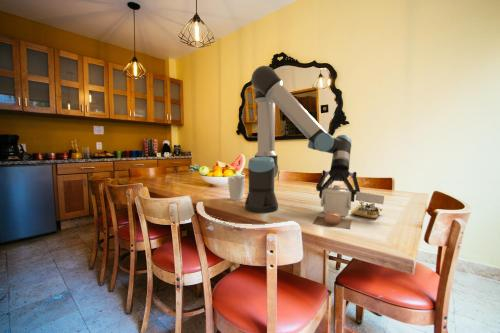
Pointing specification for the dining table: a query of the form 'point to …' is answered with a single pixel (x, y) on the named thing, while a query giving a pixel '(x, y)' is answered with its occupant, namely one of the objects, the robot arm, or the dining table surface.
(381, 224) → the dining table surface
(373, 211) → the cake
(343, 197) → the pot with lid
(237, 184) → the cup
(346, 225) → the board
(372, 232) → the dining table surface
